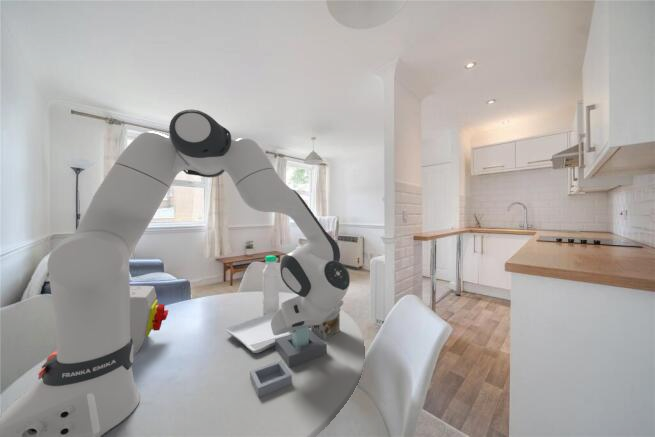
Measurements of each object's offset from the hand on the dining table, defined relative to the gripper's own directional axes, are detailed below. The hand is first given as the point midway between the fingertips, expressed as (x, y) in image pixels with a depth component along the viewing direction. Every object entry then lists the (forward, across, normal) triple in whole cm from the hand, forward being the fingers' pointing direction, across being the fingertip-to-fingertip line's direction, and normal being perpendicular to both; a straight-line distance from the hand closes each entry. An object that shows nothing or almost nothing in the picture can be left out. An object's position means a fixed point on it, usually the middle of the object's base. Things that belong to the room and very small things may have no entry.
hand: (299, 328), depth 72 cm
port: (+5, 0, +6) cm, 8 cm away
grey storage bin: (-1, +12, +12) cm, 17 cm away
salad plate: (+17, +5, -6) cm, 19 cm away
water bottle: (+30, -3, -19) cm, 36 cm away
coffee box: (+11, -14, 0) cm, 18 cm away
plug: (+4, 0, +5) cm, 6 cm away
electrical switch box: (+29, +43, -18) cm, 55 cm away
